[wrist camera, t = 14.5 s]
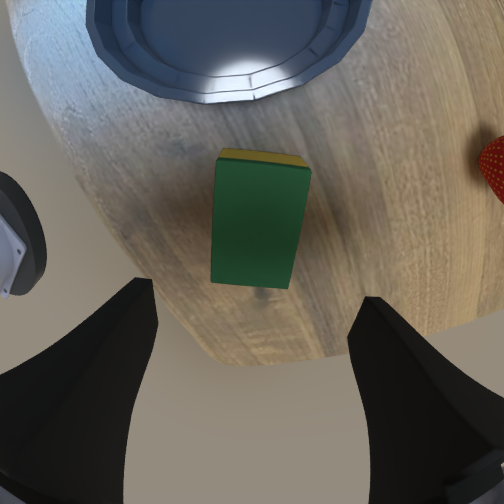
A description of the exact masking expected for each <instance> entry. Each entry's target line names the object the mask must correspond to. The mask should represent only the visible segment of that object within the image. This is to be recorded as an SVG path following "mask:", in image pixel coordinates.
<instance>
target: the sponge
mask: <svg viewBox="0 0 504 504" xmlns="http://www.w3.org/2000/svg"><path fill="white" fill-rule="evenodd" d="M311 173H312V171H311V169H310V168H309V167H308V166H307V164H306V163H305V162H304V161H303V160H302V158H301V157H300V156H293V155H286V154H278V153H270V152H261V151H251V150H241V149H229V148H224V149H223V150H222V152H221V153H220V155H219V157H218V159H217V160H216V169H215V185H214V202H213V222H212V246H211V279H210V281H211V283H221V284H232V285H243V286H255V287H267V288H280V289H288V287H289V282H290V278H291V273H292V269H293V264H294V259H295V255H296V250H297V245H298V241H299V236H300V231H301V226H302V221H303V216H304V211H305V205H306V200H307V195H308V189H309V184H310V179H311Z"/></svg>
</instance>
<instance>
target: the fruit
mask: <svg viewBox="0 0 504 504" xmlns="http://www.w3.org/2000/svg"><path fill="white" fill-rule="evenodd" d="M478 164H479V168H480V171H481V173H482V175H483V177H484V178H485V180H486V181H487V183H488V184H489V186H490V187H491V189H492V190H493V192H494V193H495V195H496V196H497V197H498V199H499V200H500V201H501V202H502V203H503V204H504V135H503V136H501V137H499V138H497V139H495V140H493V141H492V142H491V143H489V144H488V145H487V146H486V147H485V148H484V149H483V150H482V152H481V154H480V156H479V159H478Z"/></svg>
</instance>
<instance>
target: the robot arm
mask: <svg viewBox="0 0 504 504" xmlns="http://www.w3.org/2000/svg"><path fill="white" fill-rule="evenodd" d="M26 250H27V247H26V244H25V243H24V242H23V241H22V240H21V238H20V237H19V236H18V235H17V234H16V233H15V231H14V230H13V229H12V228H11V226H10V225H9V224H8V223H7V222H6V220H5V219H4V218H3V216H2V215H1V214H0V294H1V295H2V296H3V297H4V298H8V296H9V294H10V291H11V288H12V285H13V282H14V280H15V277H16V274H17V272H18V269H19V267H20V264H21V262H22V260H23V257H24V255H25V253H26ZM157 328H158V317H157V312H156V305H155V298H154V290H153V283H152V279H145V278H136V277H135V278H134V279H133V280H131V281H130V282H129V283H128V284H127V285H125V286H124V287H123V288H122V289H121V290H120V291H118V292H117V293H116V294H115V295H114V296H113V297H112V298H110V299H109V300H108V301H107V302H106V303H105V304H104V305H102V306H101V307H100V308H99V309H98V310H97V311H95V312H94V313H93V314H92V315H91V316H89V317H88V318H87V319H86V320H84V321H83V322H82V323H81V324H79V325H78V326H77V327H76V328H74V329H73V330H72V331H71V332H69V333H68V334H67V335H66V336H64V337H63V338H61V339H60V340H59V341H57V342H56V343H54V344H53V345H51V346H50V347H48V348H47V349H45V350H44V351H42V352H41V353H39V354H37V355H36V356H34V357H32V358H31V359H29V360H27V361H25V362H24V363H22V364H20V365H19V366H17V367H15V368H13V369H11V370H9V371H7V372H5V373H3V374H1V375H0V504H123V480H124V465H125V454H126V446H127V439H128V432H129V426H130V421H131V415H132V411H133V407H134V403H135V399H136V397H137V394H138V391H139V388H140V385H141V382H142V379H143V375H144V373H145V370H146V367H147V364H148V361H149V358H150V356H151V353H152V349H153V346H154V342H155V337H156V332H157ZM347 339H348V346H349V353H350V359H351V363H352V367H353V371H354V374H355V378H356V381H357V385H358V388H359V392H360V396H361V399H362V403H363V407H364V411H365V415H366V420H367V427H368V436H369V445H370V469H371V470H370V493H369V503H368V504H504V466H503V467H501V464H502V463H503V462H504V398H503V397H501V396H499V395H498V394H496V393H494V392H492V391H491V390H489V389H487V388H486V387H484V386H482V385H481V384H479V383H478V382H476V381H475V380H473V379H472V378H471V377H469V376H468V375H466V374H465V373H464V372H462V371H461V370H460V369H458V368H457V367H456V366H455V365H454V364H452V363H451V362H450V361H449V360H447V359H446V358H445V357H444V356H443V355H442V354H440V353H439V352H438V351H437V350H436V349H435V348H434V347H433V346H432V345H431V344H429V343H428V342H427V341H426V340H425V339H424V338H423V337H422V336H421V335H420V334H419V333H418V332H417V331H416V330H415V329H414V328H413V327H412V326H411V325H410V324H409V323H408V322H407V321H406V320H405V319H404V318H403V317H402V316H401V315H400V314H398V313H397V312H396V311H395V310H394V309H393V308H392V307H391V306H390V305H389V304H388V303H387V302H385V301H384V300H383V299H382V298H381V297H367V296H365V298H364V301H363V303H362V305H361V308H360V310H359V312H358V314H357V317H356V319H355V321H354V323H353V325H352V328H351V330H350V332H349V334H348V336H347Z"/></svg>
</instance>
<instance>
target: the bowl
mask: <svg viewBox="0 0 504 504" xmlns="http://www.w3.org/2000/svg"><path fill="white" fill-rule="evenodd" d="M372 1H373V0H87V6H86V28H87V31H88V33H89V36H90V39H91V41H92V44H93V47H94V49H95V52H96V54H97V56H98V57H99V58H100V59H101V60H102V61H103V62H104V63H105V64H106V65H107V66H108V67H109V68H110V69H111V70H112V71H113V72H114V73H115V74H116V75H117V76H118V77H119V78H120V79H121V80H122V81H124V82H127V83H129V84H131V85H133V86H135V87H137V88H140V89H142V90H144V91H146V92H148V93H150V94H152V95H154V96H156V97H159V98H166V99H174V100H180V101H186V102H192V103H198V104H224V103H236V102H253V101H257V100H260V99H263V98H266V97H269V96H272V95H275V94H278V93H281V92H284V91H288V90H291V89H294V88H297V87H300V86H302V85H304V84H306V83H307V82H309V81H310V80H312V79H313V78H315V77H316V76H318V75H319V74H321V73H323V72H324V71H326V70H327V69H329V68H331V67H332V66H334V65H336V64H337V63H339V61H341V60H342V59H343V57H344V56H345V55H346V54H347V52H348V51H349V50H350V49H351V47H352V46H353V45H354V44H355V42H356V41H357V40H358V39H359V38H360V36H361V35H362V34H363V32H364V30H365V27H366V23H367V19H368V16H369V12H370V8H371V5H372Z"/></svg>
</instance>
